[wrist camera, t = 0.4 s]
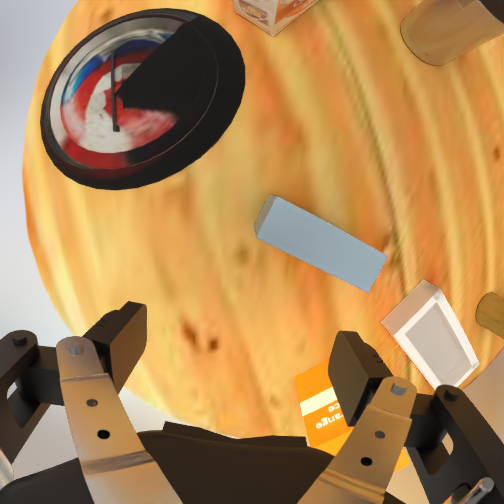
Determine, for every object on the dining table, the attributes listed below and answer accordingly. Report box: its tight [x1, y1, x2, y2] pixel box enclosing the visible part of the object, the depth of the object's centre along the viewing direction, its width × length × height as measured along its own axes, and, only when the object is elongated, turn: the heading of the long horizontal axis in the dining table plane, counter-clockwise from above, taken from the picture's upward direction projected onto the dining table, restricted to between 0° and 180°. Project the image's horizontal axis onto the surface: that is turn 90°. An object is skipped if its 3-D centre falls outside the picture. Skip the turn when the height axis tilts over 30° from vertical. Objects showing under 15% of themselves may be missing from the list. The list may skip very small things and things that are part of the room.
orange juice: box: [294, 359, 410, 473], centre depth 31 cm, size 8×9×20 cm
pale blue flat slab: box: [254, 195, 388, 293], centre depth 31 cm, size 4×12×10 cm, turn 64°
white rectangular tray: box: [380, 279, 479, 390], centre depth 37 cm, size 9×20×4 cm, turn 44°
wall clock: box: [40, 8, 245, 190], centre depth 31 cm, size 26×5×30 cm
